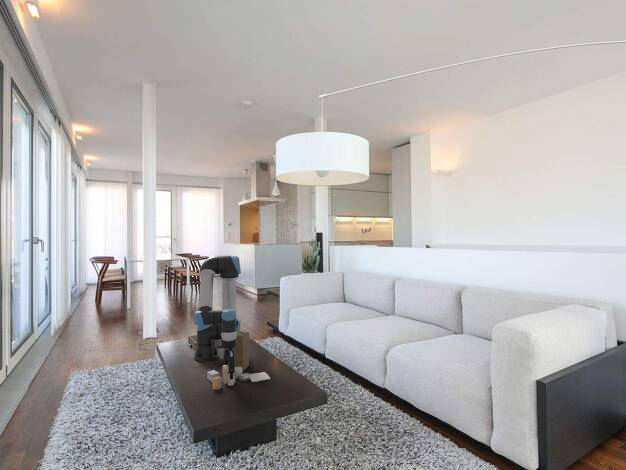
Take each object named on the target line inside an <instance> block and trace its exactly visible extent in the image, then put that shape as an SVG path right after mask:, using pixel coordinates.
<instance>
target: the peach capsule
mask: <svg viewBox="0 0 626 470" xmlns="http://www.w3.org/2000/svg"><path fill="white" fill-rule="evenodd" d="M222 383H223V381H222V377H221V376H220V375H219V376H217V377H214V378H213V382H212V390H214V391H218V390H221V389H222V387H223V386H222Z"/></svg>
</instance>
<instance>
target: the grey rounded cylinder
mask: <svg viewBox="0 0 626 470" xmlns="http://www.w3.org/2000/svg"><path fill="white" fill-rule="evenodd" d="M241 373H243V371H242V367H235V380H237V379H238V380H239V374H241Z"/></svg>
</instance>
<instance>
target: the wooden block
mask: <svg viewBox="0 0 626 470" xmlns="http://www.w3.org/2000/svg"><path fill="white" fill-rule="evenodd" d="M232 350H233V352H234V366H235V367H242V372H244V371H245V370H246V369H248V367H249V366H250V332H249V331H240V332H238V331H236V346H235V347H233V348H232Z"/></svg>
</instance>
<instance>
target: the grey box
mask: <svg viewBox="0 0 626 470" xmlns="http://www.w3.org/2000/svg"><path fill="white" fill-rule="evenodd" d="M206 373H207V375H206V376H207V377H206V379H207V380H208V381H210V382H211V383H213V378H214V377H217V376H219V377H220V372H218V371H217V370H216V369H213V370H209V371H206Z"/></svg>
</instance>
